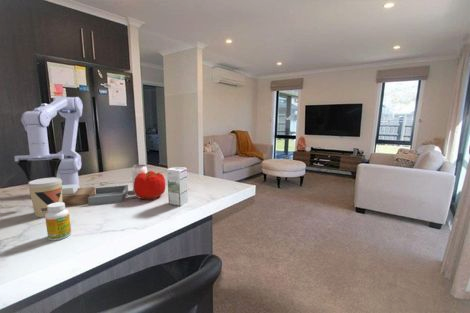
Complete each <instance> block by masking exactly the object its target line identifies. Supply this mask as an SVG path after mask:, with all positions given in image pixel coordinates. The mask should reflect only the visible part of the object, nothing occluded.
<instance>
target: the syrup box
mask: <svg viewBox="0 0 470 313" xmlns="http://www.w3.org/2000/svg"><path fill="white" fill-rule="evenodd" d="M187 170H188V168H187V167H184V166H183V167H181V166H173V167H169V168H168V169H166V173H167V174H166V177H167V180H166V181H167V190H168V191H167V194H168V196H167V197H168V205H171V206H177V207H182V206H184V205H185V204H186V203H188V202H189V199H188V198H189V196H188V172H187ZM187 201H188V202H187ZM184 203H185V204H184Z"/></svg>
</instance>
